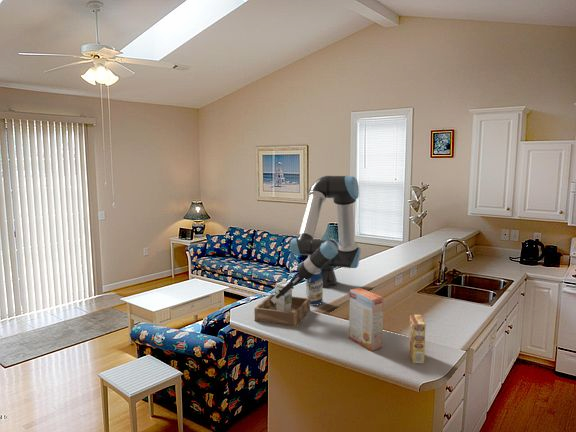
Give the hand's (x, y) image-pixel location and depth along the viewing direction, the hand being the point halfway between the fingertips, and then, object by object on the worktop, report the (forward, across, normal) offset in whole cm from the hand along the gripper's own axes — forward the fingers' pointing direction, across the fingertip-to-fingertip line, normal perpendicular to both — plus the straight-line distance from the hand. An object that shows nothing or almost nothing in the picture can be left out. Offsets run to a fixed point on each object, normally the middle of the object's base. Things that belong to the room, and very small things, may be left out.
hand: (276, 298), depth 197 cm
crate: (+3, 0, -8) cm, 9 cm away
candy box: (-40, -21, -51) cm, 68 cm away
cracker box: (-25, -15, -37) cm, 48 cm away
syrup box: (+3, 0, -8) cm, 8 cm away
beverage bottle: (-3, +20, -15) cm, 25 cm away
